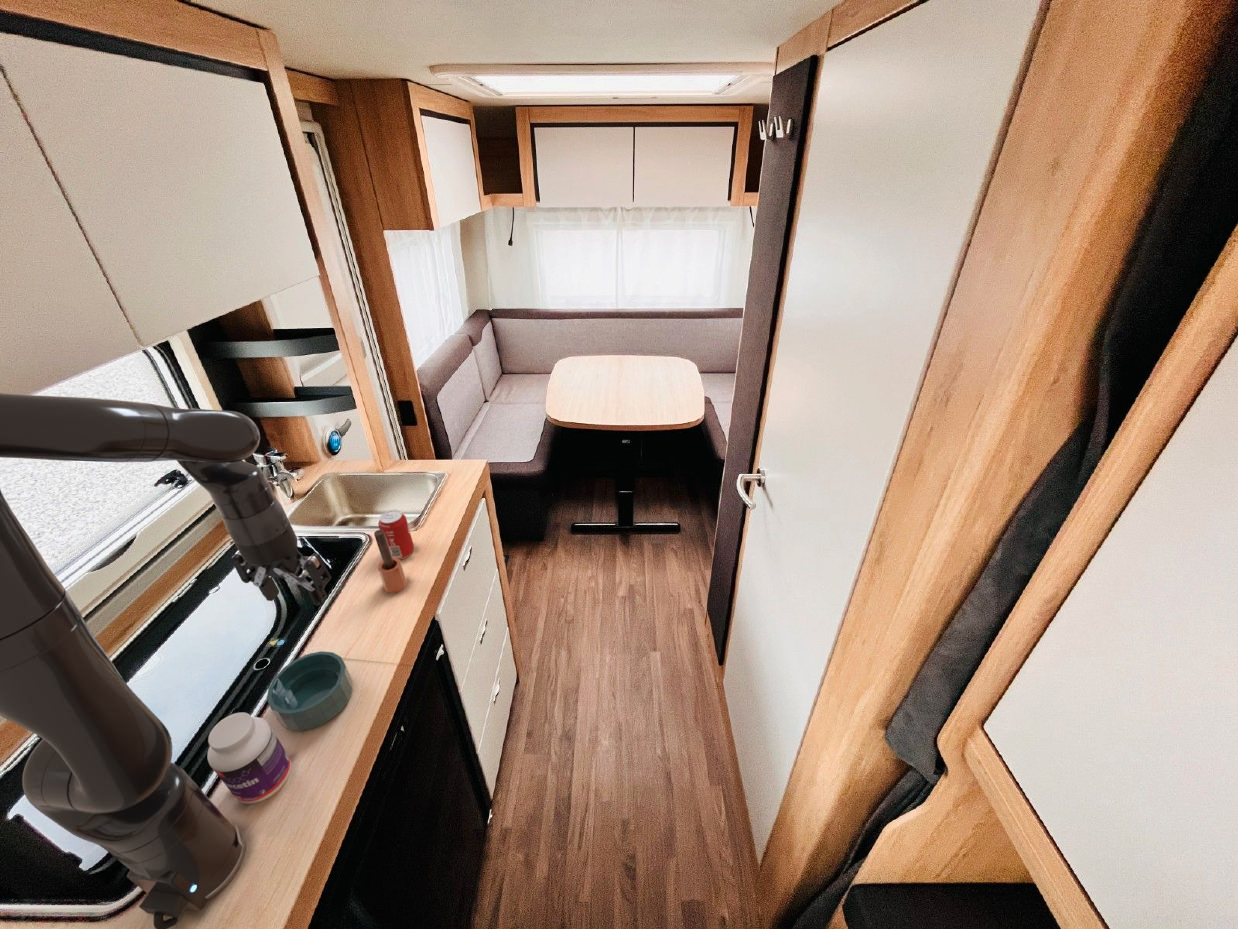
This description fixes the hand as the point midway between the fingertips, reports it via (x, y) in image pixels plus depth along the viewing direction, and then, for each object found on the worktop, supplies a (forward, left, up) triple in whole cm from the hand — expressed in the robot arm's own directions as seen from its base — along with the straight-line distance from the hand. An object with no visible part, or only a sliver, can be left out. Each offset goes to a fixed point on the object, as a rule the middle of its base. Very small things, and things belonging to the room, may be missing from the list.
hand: (297, 599), depth 87 cm
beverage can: (+35, +3, -22) cm, 41 cm away
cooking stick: (+24, -1, -21) cm, 32 cm away
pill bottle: (-19, 0, -22) cm, 29 cm away
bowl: (-5, 0, -22) cm, 22 cm away
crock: (+24, -1, -22) cm, 32 cm away
